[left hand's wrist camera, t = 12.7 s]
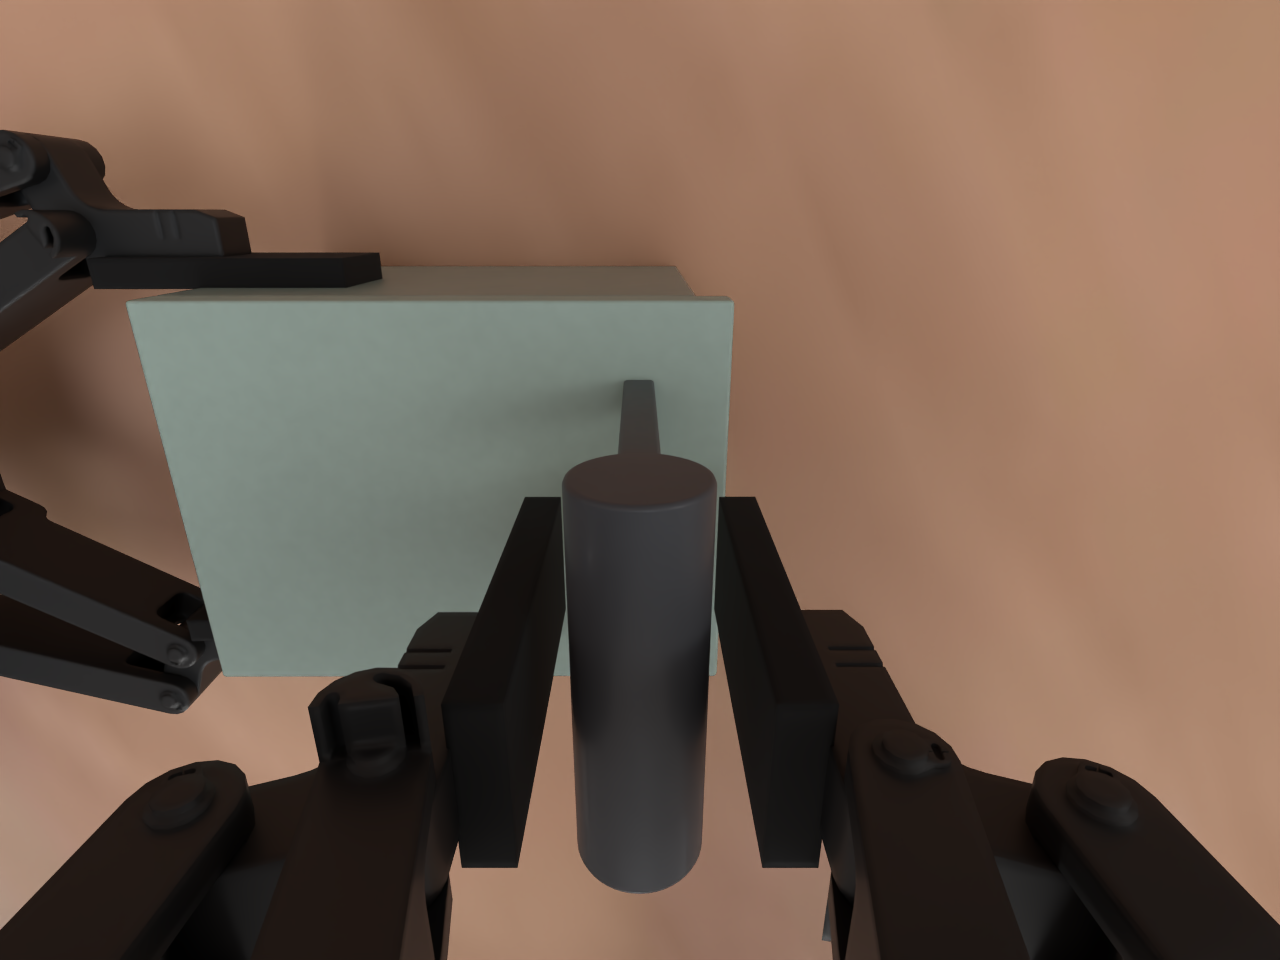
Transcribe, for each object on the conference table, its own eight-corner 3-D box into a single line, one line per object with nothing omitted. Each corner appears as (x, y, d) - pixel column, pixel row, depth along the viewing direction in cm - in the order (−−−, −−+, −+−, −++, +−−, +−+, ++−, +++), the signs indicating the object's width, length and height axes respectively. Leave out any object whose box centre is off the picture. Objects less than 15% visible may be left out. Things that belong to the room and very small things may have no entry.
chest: (676, 265, 25) (696, 295, 16) (671, 516, 29) (686, 655, 20) (326, 266, 25) (152, 295, 16) (366, 517, 29) (242, 655, 20)
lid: (729, 295, 16) (822, 379, 8) (713, 655, 20) (764, 963, 12) (151, 295, 16) (-343, 379, 8) (241, 656, 20) (-35, 966, 12)
